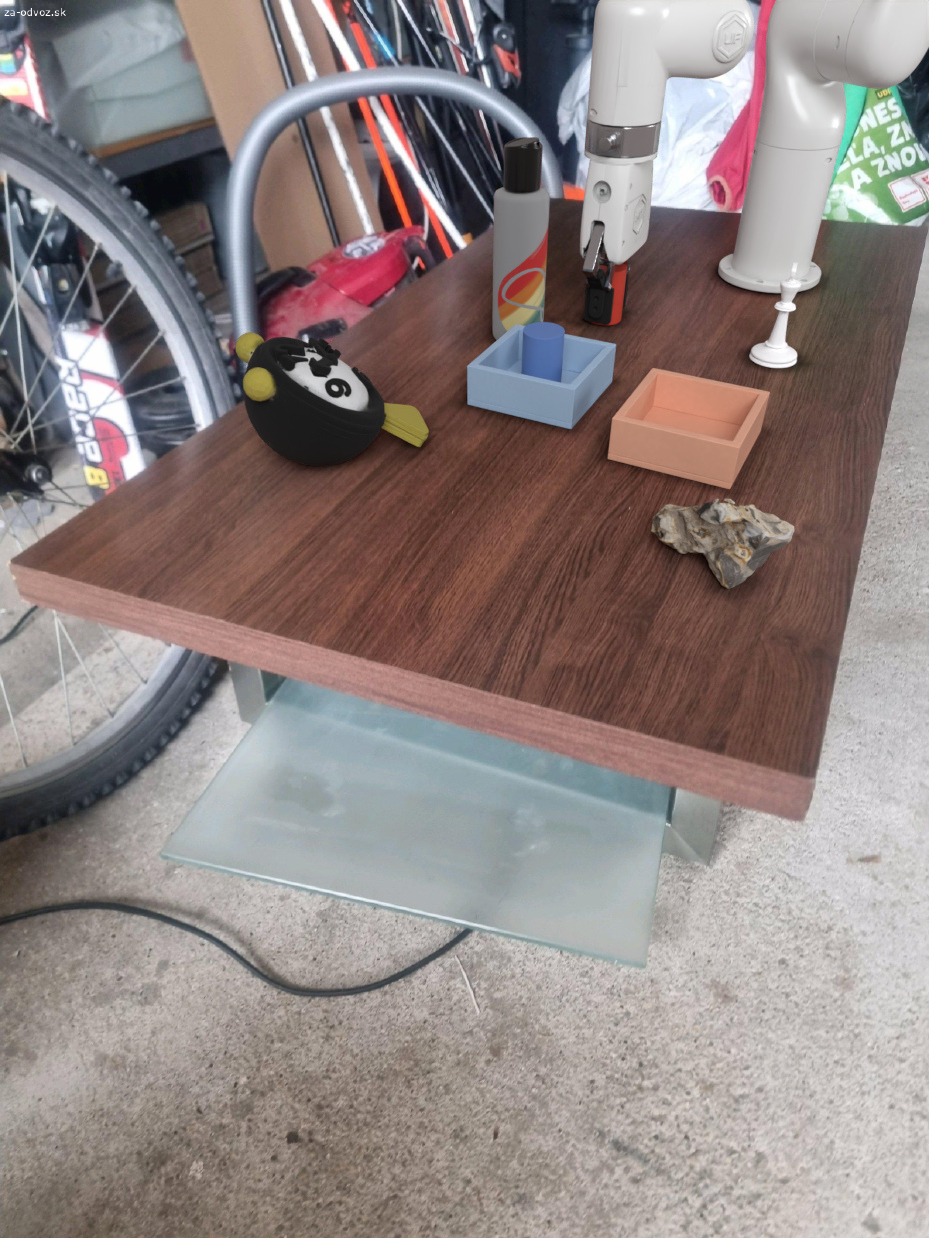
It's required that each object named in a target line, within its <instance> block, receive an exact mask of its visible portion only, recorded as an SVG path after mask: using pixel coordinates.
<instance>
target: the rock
mask: <svg viewBox="0 0 929 1238" xmlns="http://www.w3.org/2000/svg"><path fill="white" fill-rule="evenodd" d="M719 500H720V499H719V498H715V499H714V501H709V502H708V501H706V502H704V503H702V504H696V505H693V506H682V505H676V504H672V503H666V504H663V505H662V506H661V508H660V509H659V510H658V512H657V513H656V514H655V515H653V517H652V526H651V530H650V532H651V533H652V534H654V535H656V537H657V538H658V540H659V541H660V542H661V543H662V544H664V545H667V546H669V547H670V548H672V549H674V550H676V551H677V552H678V553H680V554H683V555H684V554H685V555H686V554H688V553H691V554H702V555H703V556H704V557H705V559H706V560H707V563H708V566H709V568H710V570H711V572H712V573H713V575H714V576H715V578H716V580H717V581H718V582H719V583H720V585H721V586H722V587H723V588H725V589H727V590H731V589H733V588H735V587H737V586H739V585H741V584H743V583H744V582H745V581H746V580H747V578H748V577H750V576H752V575H753V574H754V572H755V571H756V570H757V569H759V568H761V567H762V566H763V565H765V563H766V562H767V560H768V558H769V557H770V555H771V553H773V552H775V551H777V550H780V549H782V548H784V547H786V546H787V545H788V544H789V543H790V542H792V539H793V535H794V533H795V525H794V524H791V523H789V522H788V521H786V520H783V519H781V518H779V517H778V516H777V515H775V514H773V513H770V512H763V511H761V510H760V509H758V508H757V507H756V505H755V504H751V503H749V504H747V505H742V504H739V505H737V506H736V505H735V504H736V502H735V501H734V500H732V499H731V498H727V497H725V498H723V501H725V502H719Z"/></svg>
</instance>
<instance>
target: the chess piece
mask: <svg viewBox="0 0 929 1238" xmlns="http://www.w3.org/2000/svg"><path fill="white" fill-rule="evenodd" d="M797 265H798V263H795V262H793V266H792V270H791V275H790V279H785V280H783V281H781V283H780V288H781V293H780V298H781V300H780V301H777V302H776V303H775V304H774V306H773V307H774V309H776V310H777V311H778V314H777V317H776V319H775V322H774V324H773V328H772V330H771V333H770V335H769V338H768V339H767V340H765V341H764V342H759V343H757V344H755V345H753V347H752V346H751V349H750V352H749V353H748V357H749V359H750V361H752V362H754V363H755V364H757V365H759V366H761V367H765V368H771V369H787V368H790V367H792V366H793V367H794V365H796V364H797V362H798V352H797V350H795V349H794V348H793V347H791V346H790V345H788V342H786V337H787V329H788V327H787V326H788V320H789V314H790V313H791V312H794V311H796V309H797V307H796V306H797V305H796V304H795V303H794V302H793V300H795V299H794V298H795V297H796V295H797V293H799V292H798V290H799V289H800V287H801V283H800V282H799V281H797V280H795V279H794V278H795V274H796V269H797Z"/></svg>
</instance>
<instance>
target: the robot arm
mask: <svg viewBox="0 0 929 1238" xmlns="http://www.w3.org/2000/svg"><path fill="white" fill-rule="evenodd" d="M593 19H594V21H593V32H592V47H591V60H590V71H589V72H590V74H589V86H588V88H589V89H588V100H587V115H586V125H585V137H584V138H585V139H584V151H583V152H584V153H583V155H584V156H585V157H586V158H587V159H589V162H588V168H587V175H586V181H585V188H584V196H583V203H582V210H581V211H582V212H581V222H580V233H579V254H580V256H581V258H582V259H583V260H584V263H583V266H582V273H583V275H584V276H585V283H584V284H585V286H584V287H585V294H584V306H583V317H582V318H583V320H584V321H585V322H589V321H590V322H589V323H591V322H595V323H600V324H606V325H605V326H608V325H607V324H609V323H610V322H611V318H612V308H613V299H614V290H615V289H614V288H611V287H612V282H613V275H614V269H615V264H616V265H621V264H622V263H623V264H625V265H626V266H627V273H626V282H625V291H624V299H623V308H622V310H624V309H625V308H626V306H627V296H628V289H629V279H630V274H629V273H630V271H631V267H632V266H631V265H632V256H633V255H634V254H636V253H637V252H638V251H639V249H640V248H642V247H643V246H644V245H645V243H646V242H647V240H648V237H649V229H650V219H651V205H652V196H653V181H654V160H655V159H656V158H658V153H659V144H660V138H661V137H660V136H661V128H662V120H663V111H664V105H665V104H664V103H665V96H666V89H667V82H668V80H669V79H670V78H684V79H695V80H709V79H715V78H718V77H720V76H723V75H726V74H727V73H730V71H732V70H733V69H734V68H735V67H737V66H738V65H739V64H740V63H741V61H742V60H743V59H744V58H745V56H746V55H747V53H748V51H749V48H750V47H751V45H752V41H753V39H754V34H755V33H754V32H755V17H754V13H753V10H752V7H751V5H750V4H749V2H748V0H598V2H597V4H596V7H595V11H594V18H593ZM765 38H766V39H765V75H764V87H763V94H762V95H763V96H762V102H761V103H762V104H761V109H760V115H759V122H758V126H757V131H756V136H755V141H754V146H753V151H752V156H751V161H750V165H749V171H748V177H747V181H746V186H745V193H744V197H743V201H742V203H743V204H742V208H741V214H740V219H739V224H738V227H737V228H738V230H737V234H736V239H735V243H734V249H733V253H729V254H728V255H725V256H724V257H723V258H722V259H720V261H719V262H718V268H717V272H718V275H719V277H720V278H721V279H722V280H724V281H725V282H726V283H728V284H730V285H732V286H735V287H737V288H740V289H745V290H748V291H753V292H759V293H766V294H781V288H780V283H781V281H783V280H785V279H790V275H791V270H792V266H793V262H795V263H798V265H797V269H796V274H795V278H794V279H795V280H797V281H799V282H800V283H801V287H800V289H799V290H798V292H797V293H799V292H804V291H808V290H810V289H813V288H814V287H816V286H817V285H818V284H819V283H820V281H821V277H822V269H821V267H819V265H817V264H816V263H815V262H813V261H812V259H813V257H814V256H813V255H814V252H815V247H816V244H817V239H818V235H819V231H820V228H821V224H822V220H823V216H824V212H825V207H826V204H827V199H828V196H829V191H830V187H831V184H832V180H833V176H834V171H835V167H836V163H837V160H838V155H839V152H840V148H841V145H842V141H843V138H844V134H845V131H846V130H845V129H846V124H847V98H846V91H845V86H844V84H847V85H851V86H852V85H853V86H857V87H861V88H868V89H874V90H884V89H889V88H893V87H895V86H897V85H899V84H900V83H902V82H903V81H905V80H906V79H907V78H908V77H909V76H911V74H912V73H913V72H914V71H915V69H917V67H918V66H919V64H920V63H921V61H923V59H924V57H925V55H926V53H927V52H928V50H929V0H775V1H774V3H773V6H772V7H771V10H770V14H769V17H768V21H767V27H766V37H765ZM602 254H604V257H601V256H602ZM599 265H604V266H607V271H606V275H605V272H604V270H603V269H600V267H599Z"/></svg>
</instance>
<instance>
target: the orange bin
mask: <svg viewBox="0 0 929 1238" xmlns="http://www.w3.org/2000/svg"><path fill="white" fill-rule="evenodd" d="M770 395H771V392H770V391H768V390H763V389H759V388H753V387H748V386H744V385H739V384H734V383H728V382H723V381H719V380H714V379H709V378H704V377H700V376H694V375H689V374H686V373H681V372H675V371H671V370H665V369H662V368H655V367H652V368H651V369H650V371H649V372H648V373H646V376H644V378H643V379H642V381H640V382H639V384H638V386H637V387H636V388H635V389H634V391H632V393H631V394H629V397H628V398H626V400H625V402H624V403H623V404H622V405H621V407H620V408H618V410H617V412H615V414H614V415H613V417H612V418H611V424H610V425H611V426H610V433H609V442H608V450H607V460H610V461H614V462H619V463H622V464H625V465H626V464H627V465H629V466H634V467H638V468H642V469H645V470H650V471H653V472H658V473H662V474H665V475H669V476H673V477H678V478H681V479H685V480H690V481H694V482H699V483H702V484H706V485H710V486H715V487H718V488H722V489H726V490H731V488H732V487H733V485H734V483H735V481H736V479H737V477H738V475H739V473H740V471H741V469H742V468H743V466H744V464H745V462H746V460H747V459H748V456H749V454H750V452H751V451H752V449H753V447H754V445H755V443H756V441H757V439H758V437H759V436H760V434H761V431H762V426H763V423H764V419H765V416H766V411H767V408H768V403H769V399H770Z"/></svg>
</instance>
